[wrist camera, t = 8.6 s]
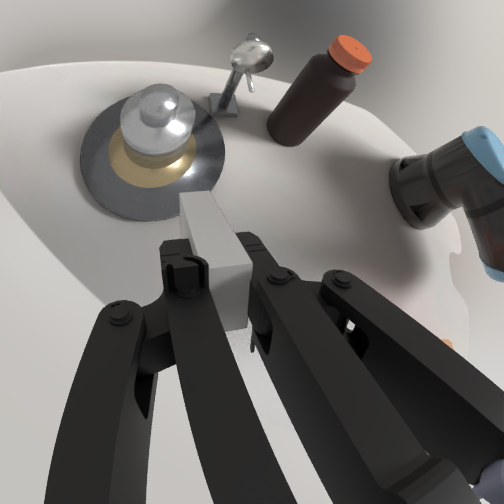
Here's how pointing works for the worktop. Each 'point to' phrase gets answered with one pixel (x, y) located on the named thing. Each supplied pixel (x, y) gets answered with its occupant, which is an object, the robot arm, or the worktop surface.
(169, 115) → the cover
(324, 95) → the bottle
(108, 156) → the grey plate
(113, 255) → the worktop surface
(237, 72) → the dial gauge stand
